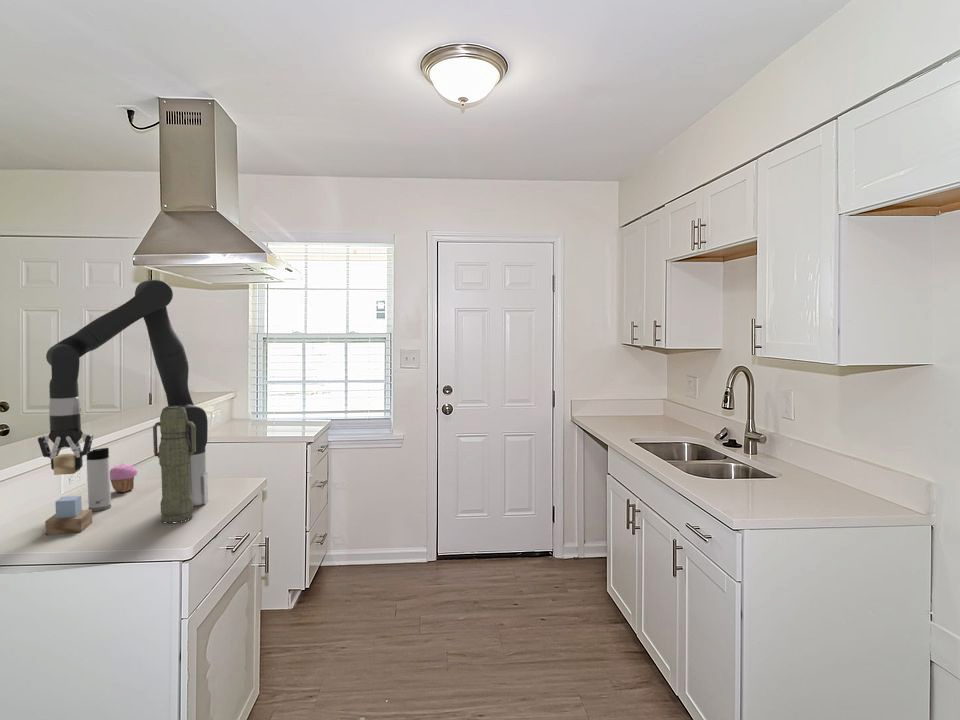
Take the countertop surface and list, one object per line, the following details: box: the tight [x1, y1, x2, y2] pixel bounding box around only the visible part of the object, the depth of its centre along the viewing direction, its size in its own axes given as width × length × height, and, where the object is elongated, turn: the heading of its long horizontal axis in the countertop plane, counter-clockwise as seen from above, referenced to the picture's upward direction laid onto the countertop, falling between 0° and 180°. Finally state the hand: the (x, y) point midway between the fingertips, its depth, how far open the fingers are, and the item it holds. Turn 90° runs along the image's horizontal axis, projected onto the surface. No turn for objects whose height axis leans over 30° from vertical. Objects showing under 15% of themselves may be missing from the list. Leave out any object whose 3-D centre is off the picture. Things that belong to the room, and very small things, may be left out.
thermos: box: [152, 405, 196, 524], centre depth 189 cm, size 9×12×35 cm
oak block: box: [53, 453, 81, 476], centre depth 180 cm, size 5×5×5 cm
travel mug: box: [86, 447, 112, 512], centre depth 201 cm, size 6×7×20 cm
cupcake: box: [110, 463, 138, 493], centre depth 221 cm, size 9×9×10 cm
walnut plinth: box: [44, 509, 93, 535], centre depth 181 cm, size 9×9×4 cm
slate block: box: [54, 495, 83, 518], centre depth 181 cm, size 5×5×5 cm
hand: (67, 469), depth 180 cm, fingers closed on oak block, 5 cm apart
